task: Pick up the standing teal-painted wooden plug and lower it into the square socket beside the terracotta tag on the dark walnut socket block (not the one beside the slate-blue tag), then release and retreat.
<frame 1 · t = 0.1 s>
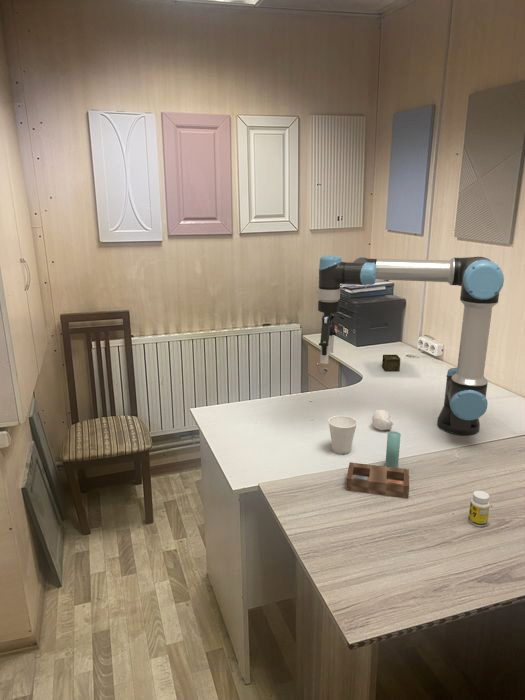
hand: (326, 357, 188), 28 cm above the table, fingers open, 13 cm apart
wooden crate: (390, 370, 263), on the table
socket block: (377, 485, 157), on the table
supplement bottle: (477, 522, 139), on the table
beige round lump: (381, 429, 195), on the table
plug: (391, 467, 167), on the table
cup: (341, 451, 179), on the table
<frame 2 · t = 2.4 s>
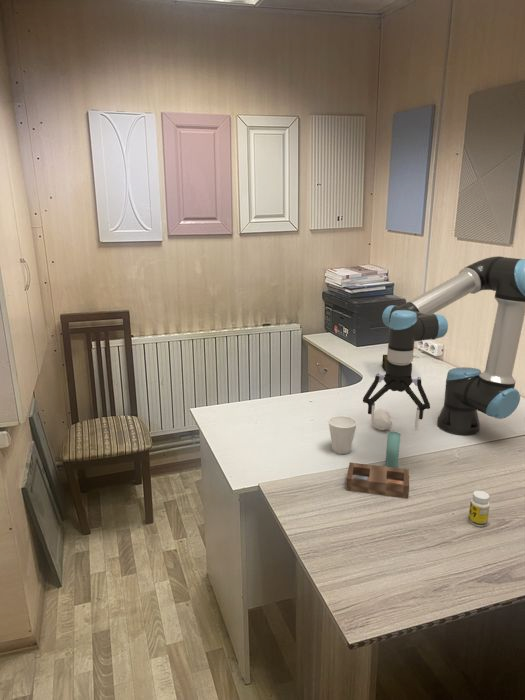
hand: (393, 425, 163), 15 cm above the table, fingers open, 13 cm apart
nothing on the table moved.
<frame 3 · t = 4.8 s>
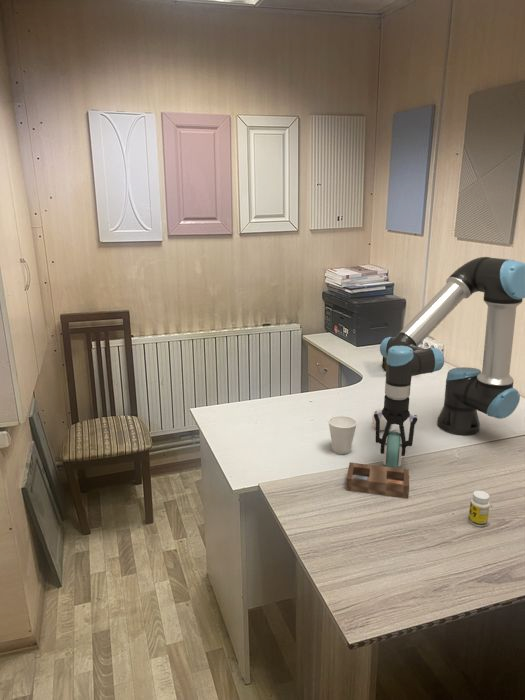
hand: (392, 463, 167), 2 cm above the table, fingers closed on plug, 4 cm apart
plug: (391, 467, 167), on the table, touching gripper
everything else where it was.
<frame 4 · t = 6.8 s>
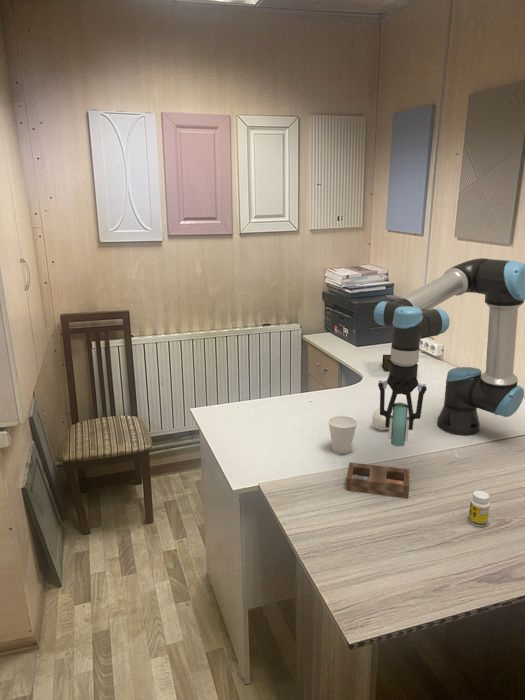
hand: (397, 438, 151), 16 cm above the table, fingers closed on plug, 4 cm apart
plug: (397, 443, 152), point 15 cm above the table, touching gripper
everything else where it was.
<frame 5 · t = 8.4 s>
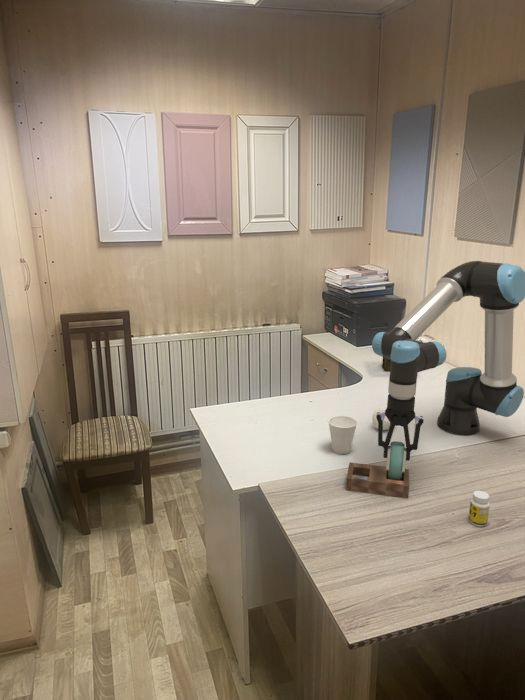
hand: (395, 468, 154), 7 cm above the table, fingers closed on plug, 4 cm apart
plug: (394, 480, 155), point 2 cm above the table, touching gripper
everything else where it was.
when the fingers open (5 cm above the table, at t = 9.4 s): plug drops 1 cm, resting in socket block.
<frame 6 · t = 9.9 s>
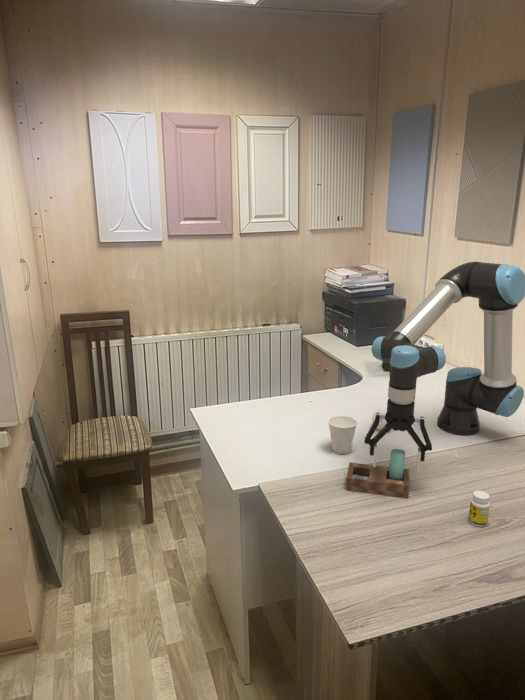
hand: (395, 467, 154), 7 cm above the table, fingers open, 12 cm apart
plug: (394, 487, 156), resting in socket block
everything else where it was.
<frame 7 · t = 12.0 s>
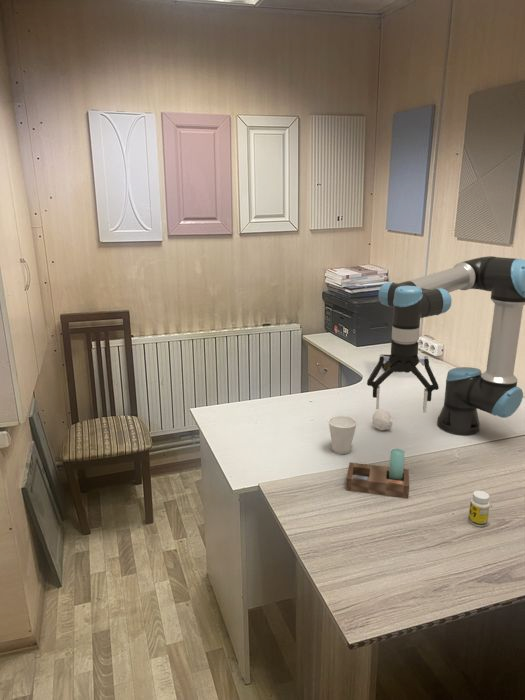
hand: (400, 409, 154), 23 cm above the table, fingers open, 13 cm apart
nothing on the table moved.
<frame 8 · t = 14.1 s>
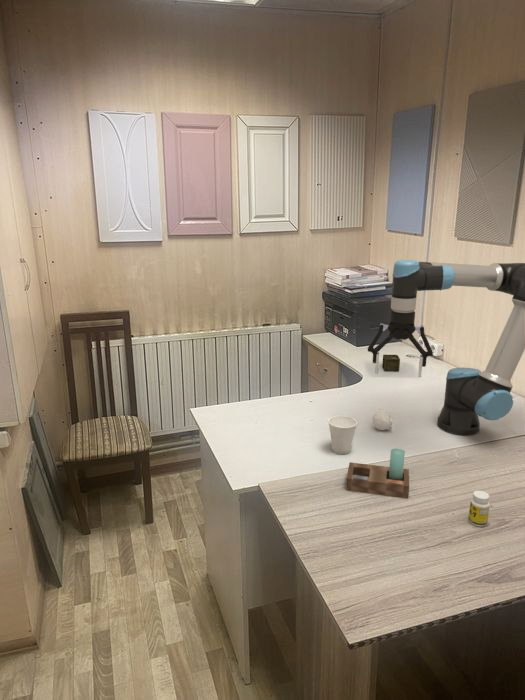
hand: (398, 374, 168), 29 cm above the table, fingers open, 13 cm apart
nothing on the table moved.
at the end: plug 0.2 cm from the target spot on the socket block, point 0.0 cm above the socket block's base; plug tilted 0°; the gripper is holding nothing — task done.
